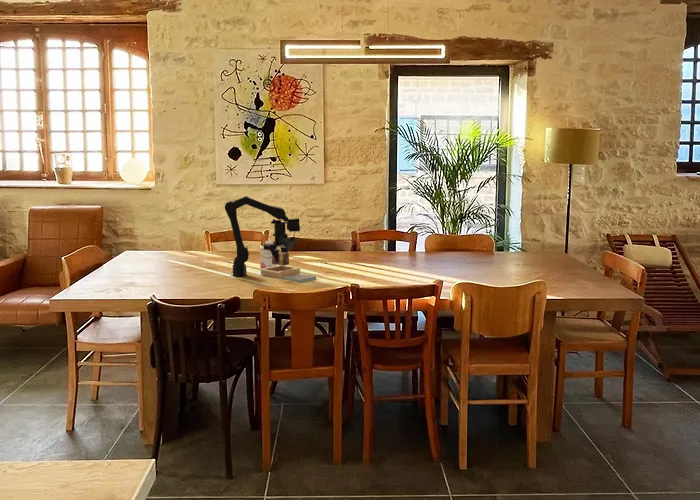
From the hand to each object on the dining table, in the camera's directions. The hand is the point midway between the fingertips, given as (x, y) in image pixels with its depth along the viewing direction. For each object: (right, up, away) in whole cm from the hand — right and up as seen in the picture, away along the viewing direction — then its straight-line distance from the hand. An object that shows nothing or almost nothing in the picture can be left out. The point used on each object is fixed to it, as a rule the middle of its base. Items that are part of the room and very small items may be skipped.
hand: (280, 261), depth 390 cm
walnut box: (0, -1, 0) cm, 1 cm away
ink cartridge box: (-8, -4, +22) cm, 24 cm away
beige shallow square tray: (0, -7, +1) cm, 7 cm away
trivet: (+11, -9, -9) cm, 17 cm away
